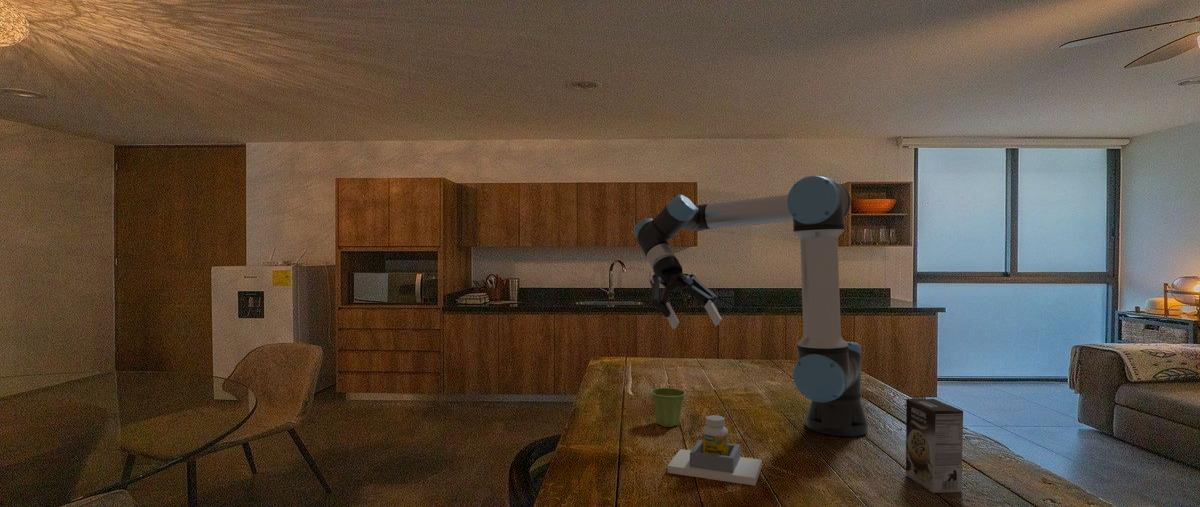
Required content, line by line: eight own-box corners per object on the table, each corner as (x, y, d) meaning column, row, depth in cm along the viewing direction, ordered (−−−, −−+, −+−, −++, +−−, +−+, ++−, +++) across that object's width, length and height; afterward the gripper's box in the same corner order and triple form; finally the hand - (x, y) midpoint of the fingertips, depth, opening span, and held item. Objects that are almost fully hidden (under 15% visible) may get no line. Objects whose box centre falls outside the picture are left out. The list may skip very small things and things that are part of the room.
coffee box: (904, 475, 123) (904, 398, 123) (933, 474, 124) (933, 397, 124) (932, 493, 114) (932, 410, 114) (963, 492, 115) (964, 409, 115)
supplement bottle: (729, 459, 128) (729, 415, 128) (727, 468, 123) (727, 422, 123) (704, 457, 130) (704, 413, 129) (700, 465, 124) (701, 420, 124)
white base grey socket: (761, 466, 128) (761, 445, 128) (755, 485, 118) (755, 463, 118) (680, 455, 135) (680, 435, 135) (667, 472, 124) (667, 451, 124)
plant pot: (684, 419, 163) (684, 388, 163) (686, 429, 154) (686, 396, 154) (650, 418, 164) (650, 387, 164) (650, 428, 155) (650, 395, 155)
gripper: (694, 272, 173) (728, 329, 160) (621, 274, 162) (651, 336, 149) (706, 254, 169) (742, 312, 156) (631, 254, 157) (663, 317, 144)
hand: (697, 324), depth 152 cm, fingers open, 13 cm apart
